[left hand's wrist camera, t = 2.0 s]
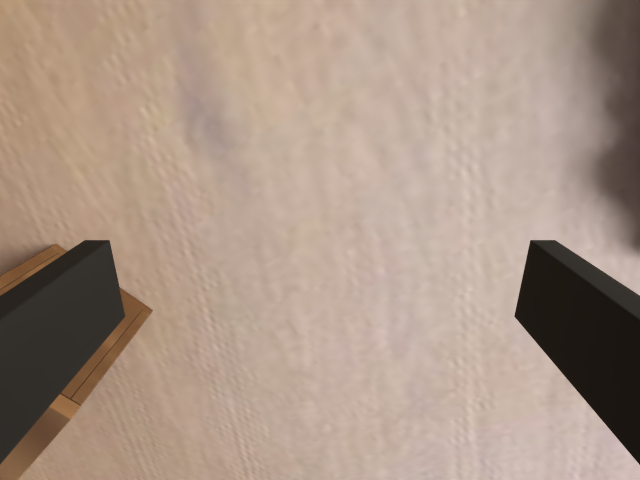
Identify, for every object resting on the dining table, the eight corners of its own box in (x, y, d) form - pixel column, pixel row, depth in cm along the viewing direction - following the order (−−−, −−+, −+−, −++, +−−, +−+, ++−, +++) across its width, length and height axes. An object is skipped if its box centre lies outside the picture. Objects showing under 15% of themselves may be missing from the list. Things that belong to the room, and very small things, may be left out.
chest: (54, 426, 37) (-42, 546, 27) (-37, 374, 35) (-176, 486, 25) (153, 310, 33) (81, 404, 23) (56, 243, 31) (-70, 316, 21)
